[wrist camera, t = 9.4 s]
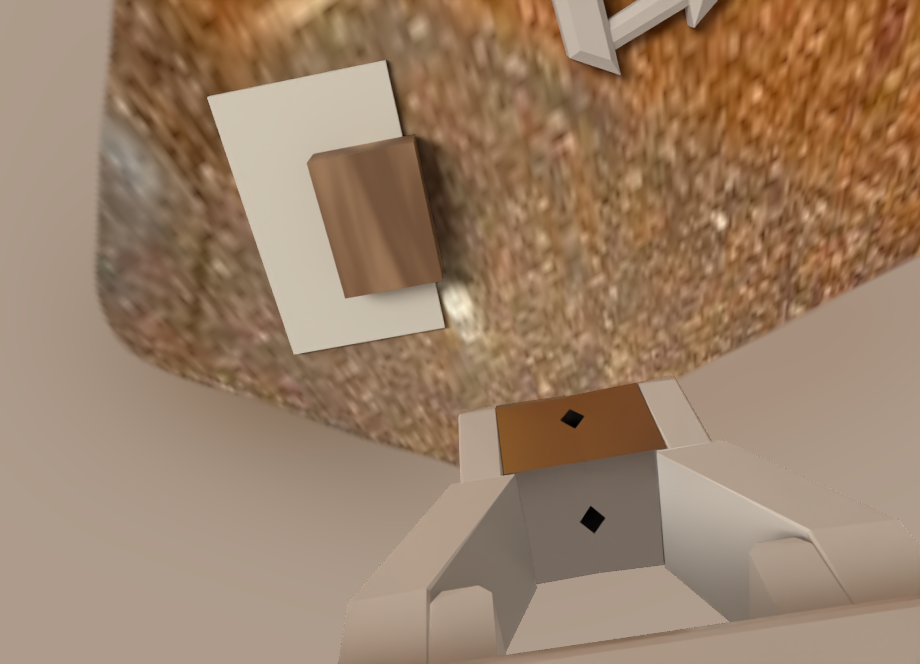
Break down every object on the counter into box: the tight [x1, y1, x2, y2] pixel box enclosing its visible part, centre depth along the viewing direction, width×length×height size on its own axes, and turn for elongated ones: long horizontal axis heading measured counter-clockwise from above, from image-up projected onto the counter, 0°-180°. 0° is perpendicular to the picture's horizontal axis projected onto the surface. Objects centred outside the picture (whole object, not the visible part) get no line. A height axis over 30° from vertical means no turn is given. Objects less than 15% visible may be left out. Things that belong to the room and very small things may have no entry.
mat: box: [207, 60, 445, 354], centre depth 47 cm, size 11×18×1 cm, turn 11°
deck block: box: [307, 134, 443, 299], centre depth 45 cm, size 2×9×6 cm
